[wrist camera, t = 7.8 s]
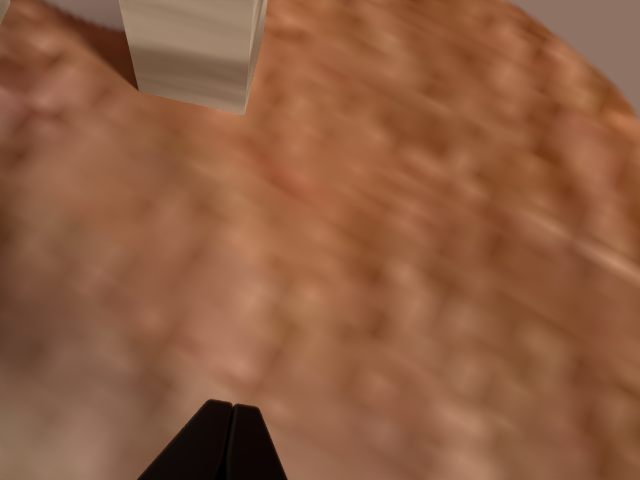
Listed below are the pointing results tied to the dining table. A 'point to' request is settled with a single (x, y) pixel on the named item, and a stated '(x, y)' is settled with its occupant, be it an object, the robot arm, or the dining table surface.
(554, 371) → the dining table surface
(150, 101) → the dining table surface
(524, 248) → the dining table surface
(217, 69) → the plain block
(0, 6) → the marked block 1
